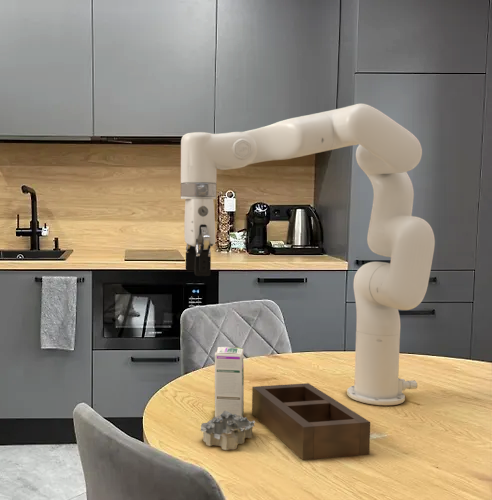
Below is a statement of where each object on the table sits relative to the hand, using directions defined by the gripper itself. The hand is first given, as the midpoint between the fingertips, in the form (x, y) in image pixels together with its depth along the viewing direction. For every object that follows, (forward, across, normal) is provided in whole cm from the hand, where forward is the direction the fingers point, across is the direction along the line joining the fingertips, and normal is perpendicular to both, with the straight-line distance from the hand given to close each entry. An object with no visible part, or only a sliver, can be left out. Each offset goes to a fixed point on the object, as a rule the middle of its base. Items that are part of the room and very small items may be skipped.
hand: (197, 273), depth 131 cm
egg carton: (+30, -16, -3) cm, 35 cm away
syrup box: (+30, -4, -6) cm, 31 cm away
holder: (+30, -14, -19) cm, 38 cm away
